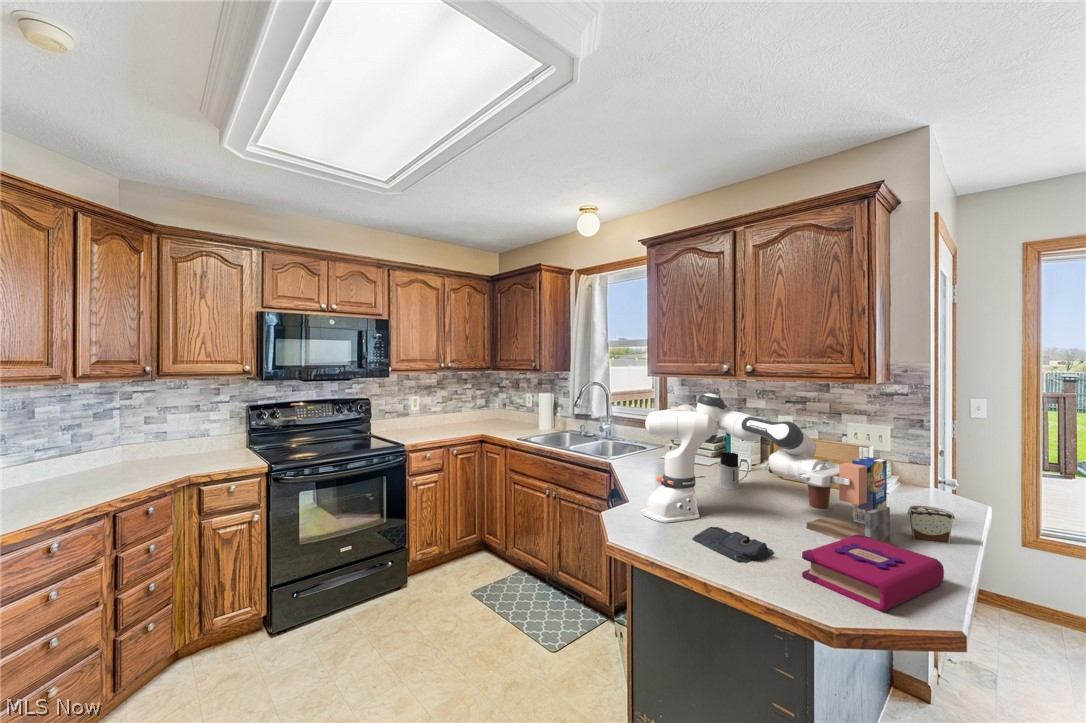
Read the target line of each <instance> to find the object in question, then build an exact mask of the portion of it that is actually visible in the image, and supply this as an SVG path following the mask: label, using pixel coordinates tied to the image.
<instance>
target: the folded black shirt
mask: <svg viewBox="0 0 1086 723" xmlns="http://www.w3.org/2000/svg"><path fill="white" fill-rule="evenodd" d="M691 540H692V541H693V542H695V543H698V544H699V545H702V546H703V547H705V548H707V549H709V550H711V551H713V552H716V553H717V554H720V555H722V556H724V557H726V558H728V559H730V560H731V561H734V562H736V563H744V564H748V563H752V562H754V561H755V562H758V561H762V560H764V559H767V558H769V557H770V556H772V554H773V555H774V550H773V549H771V548H769V547H768V545H767V543H766V542H762V541H760V540H758V539H755V538H753V539H750V537H749V536H748V535H745V534H743V533H741V532H739V531H732V532H730V531H728V530H727V529H724V528H722V527H719V526H709V527H707V528H705V529H703V530H702V531H700V532H699V533H698V534H695V535H694V536H693V537H692V538H691Z"/></svg>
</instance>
